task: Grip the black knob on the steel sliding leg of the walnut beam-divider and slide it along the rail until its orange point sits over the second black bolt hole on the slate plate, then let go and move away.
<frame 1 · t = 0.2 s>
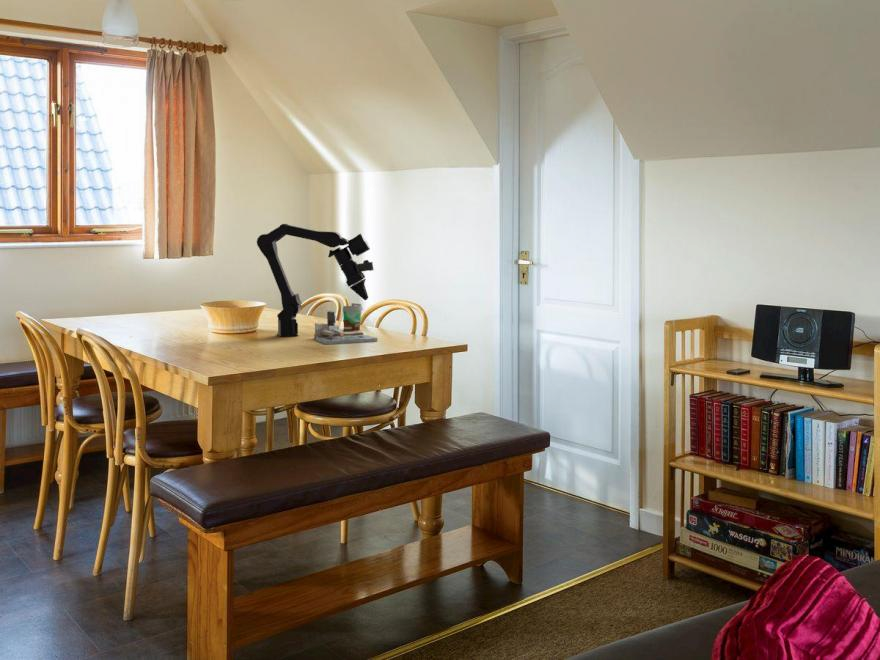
hand: (366, 299, 340), 14 cm above the table, tool tilted 30°, fingers open, 9 cm apart
food container: (354, 330, 362), on the table
hole plate: (346, 341, 330), on the table
divider leg: (335, 323, 334), point 6 cm above the table, slide at 0.0 cm
divider rail: (338, 337, 339), on the table
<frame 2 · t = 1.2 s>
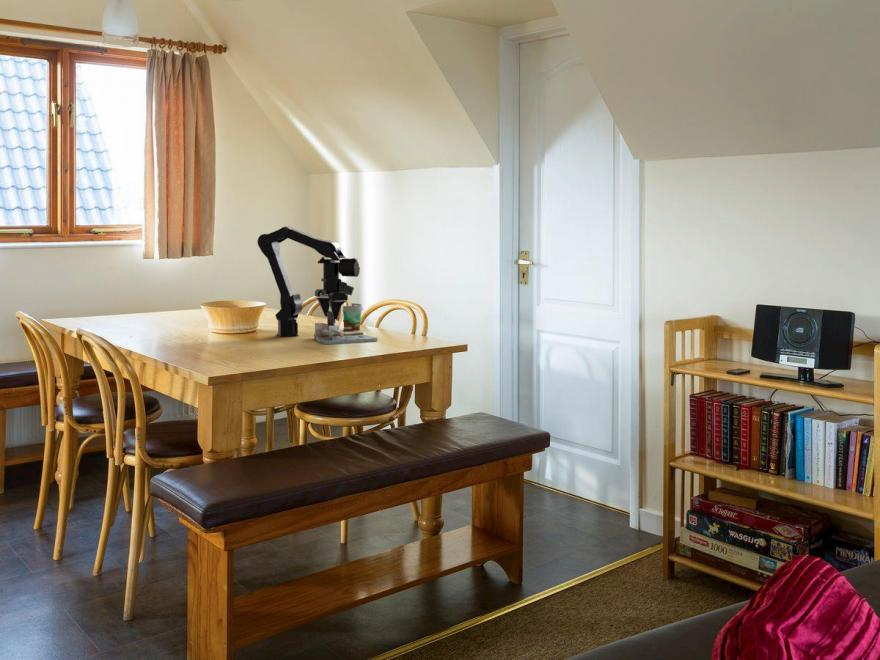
hand: (331, 317, 337), 7 cm above the table, tool pointing down, fingers open, 9 cm apart
nothing on the table moved.
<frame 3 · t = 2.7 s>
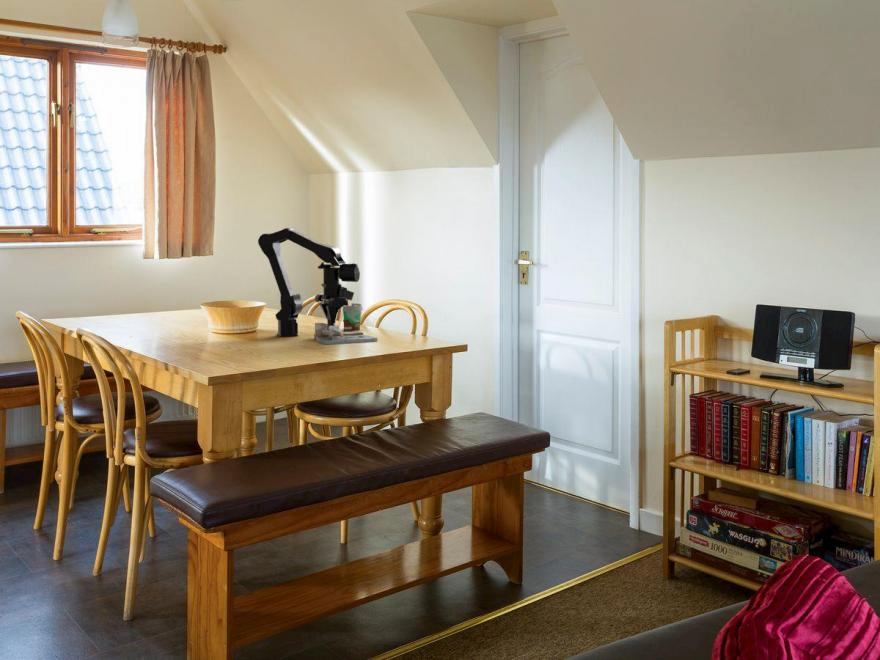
hand: (331, 323, 337), 6 cm above the table, tool pointing down, fingers closed on divider leg, 3 cm apart
divider leg: (335, 323, 334), point 6 cm above the table, slide at 0.0 cm, touching gripper
everything else where it was.
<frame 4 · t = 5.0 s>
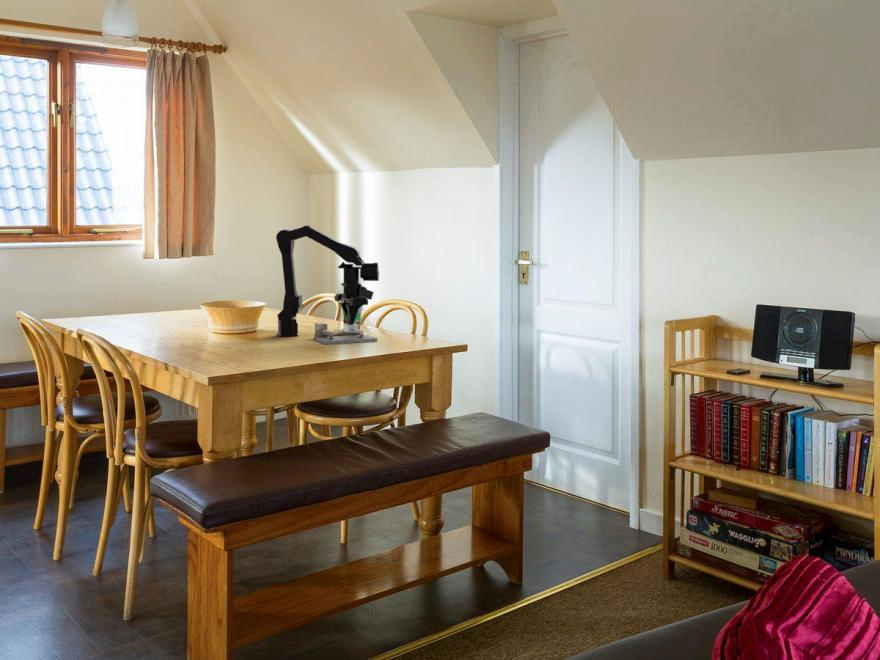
hand: (351, 322, 341), 6 cm above the table, tool pointing down, fingers closed on divider leg, 3 cm apart
divider leg: (355, 322, 337), point 6 cm above the table, slide at 7.9 cm, touching gripper
everything else where it was.
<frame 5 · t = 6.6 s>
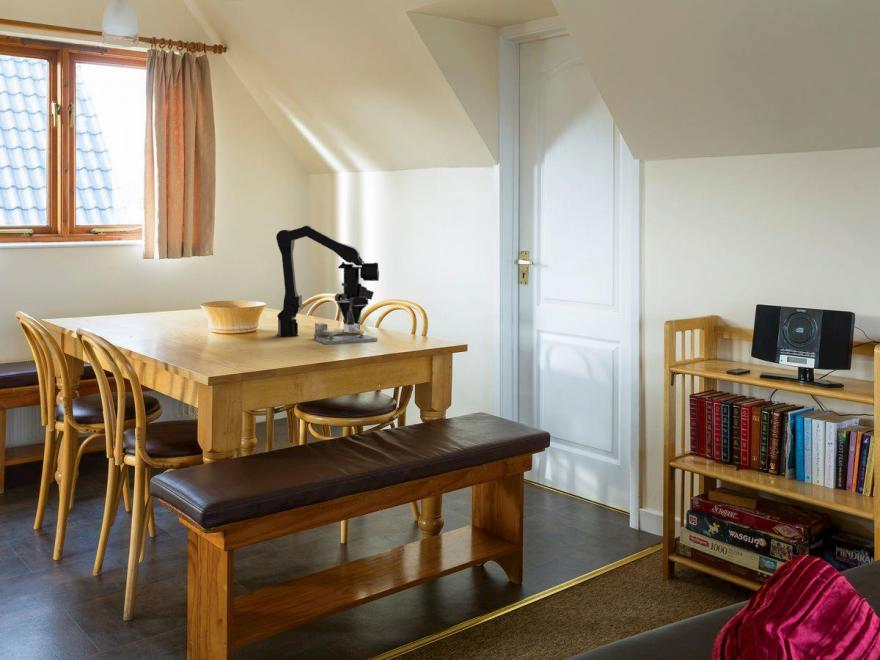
hand: (351, 322, 341), 6 cm above the table, tool pointing down, fingers open, 9 cm apart
divider leg: (355, 322, 337), point 6 cm above the table, slide at 7.9 cm
everything else where it was.
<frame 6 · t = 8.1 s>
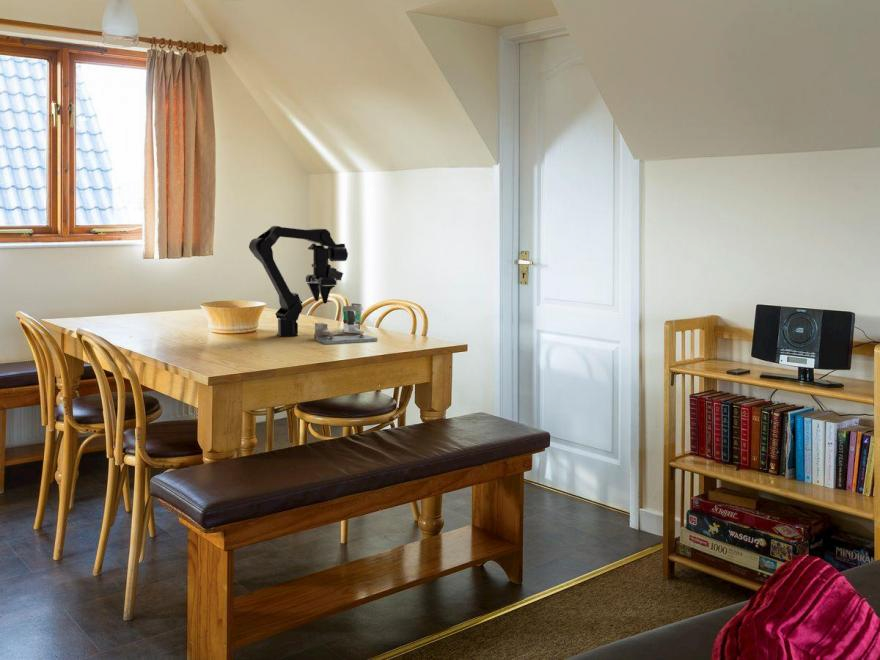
hand: (320, 302, 349), 12 cm above the table, tool pointing down, fingers open, 9 cm apart
nothing on the table moved.
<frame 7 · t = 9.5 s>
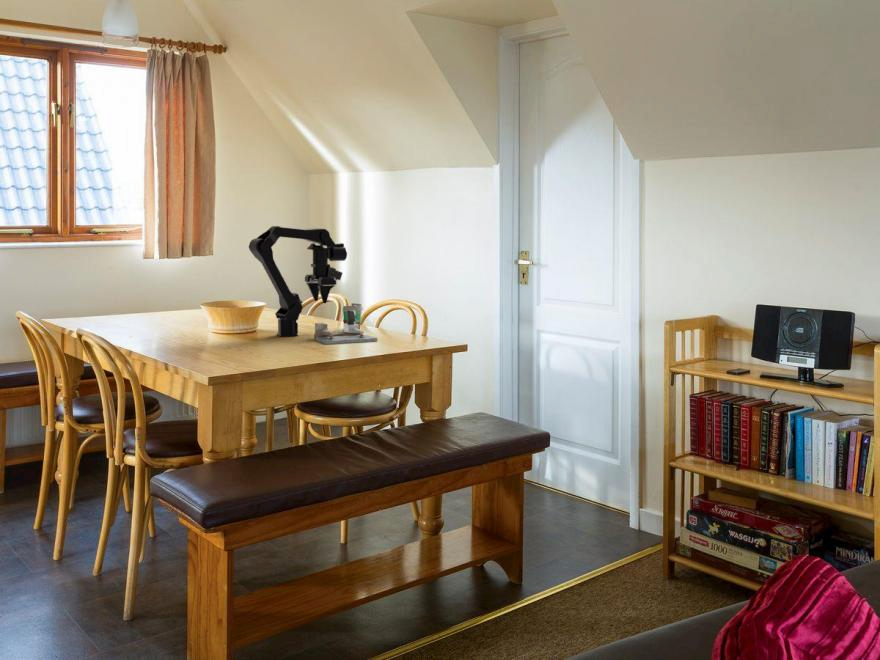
hand: (320, 302, 349), 12 cm above the table, tool pointing down, fingers open, 9 cm apart
nothing on the table moved.
at the end: divider leg slide at 7.9 cm; the gripper is holding nothing; food container moved 0.2 cm from its start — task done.
